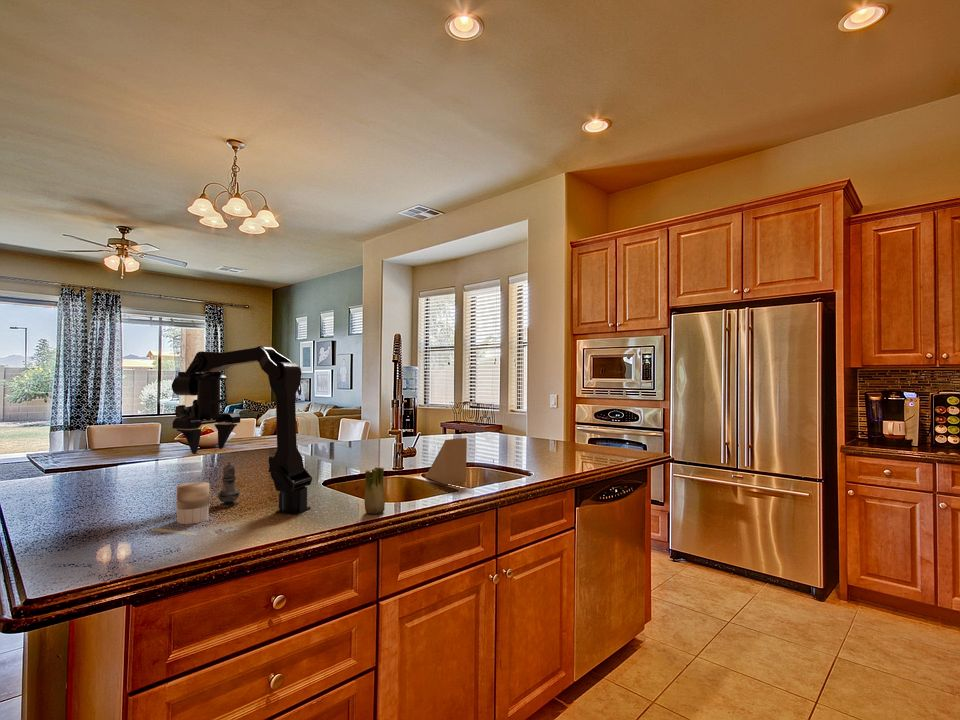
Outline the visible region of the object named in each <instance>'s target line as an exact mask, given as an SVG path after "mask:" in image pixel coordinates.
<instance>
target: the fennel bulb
mask: <svg viewBox="0 0 960 720" xmlns="http://www.w3.org/2000/svg"><path fill="white" fill-rule="evenodd" d="M384 470H385V468H384V467H378V466H377V467H376V466H375V467H374V468H372V469H371V470H365V471H364V472H365V492H364V510H365V513H366V514H368V515H378V514H377V513H380V514H383V512H384V511H385V508H386V507H385V506H386V505H385V504H386V498H385V497H386V496H385V495H386V494H385V488H384Z"/></svg>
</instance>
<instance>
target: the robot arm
mask: <svg viewBox="0 0 960 720" xmlns="http://www.w3.org/2000/svg"><path fill="white" fill-rule="evenodd" d="M192 359H193V360H192V361H191V362H190V364H189V366H188V368H186V371H178V372H177V376H175V378H174V379H173V380H172V383H171V390H172V391H173V393H174V394H175V395H177V396H196V399H193V401H192V405H190V406H186V405H185V404H179V405H177V406H175V410H174V414H175V418H174V419H173V421H172V427H171V428H172V429H176V431H177V432H180V433H181V434H183V435H184V437H185V439H186V442H187V443H188V444H187V445H188V446H189V449H190V452H191V454H193V455H196V454H197V452H198V450H199V445H200V440H201V435H202V430H203V429H202V428H200V427H201V426H202V425H208V424H214V428H216V429H217V447H218V449H219V450H222V449H224V447H225V445H226V442H227V441H228V439H229V437H230V436H231V434H232V433H233V430H234V429H235V428H236V427H237V426H238V424H239V423H241V415H240V414H239V413H238V412H222V413H220V412H221V404H223V403H224V398H221V381H222V380H223V381H226V380H228V378H227V376H226V375H224V374H223V373H222V372H223V371H224V370H227V369H229V368H230V367H233V366H237V365H245V364H252V363H259V367H260V368H261V370H262V372H264V373H265V374H266V375H267V377H268V381H269V383H268V384H269V386H270V388H271V391H272V392H273V393H274V395H275V396H274V397H275V412H276V413H275V414H276V415H275V416H276V417H275V418H276V423H275V425H276V451H275V454H273V455H271V456H269V457H268V464H269V467H268V473H270V478H271V480H273V484H274V487H275V490H276V492H279V493H278V510H276V511H275V514H282V515H283V514H284V515H293V516H295V515H299V514H301V513H304V512H307V511H308V510H311V506H308V486H311V485H312V482H313V481H312V480H313V477H312V475H311V474H310V473H309V472H308V470H307V469H306V468H305V466H304V460H303V456H302V454H301V453H300V451H299V449H298V447H297V445H298V444H297V419H296V418H297V416H296V412H297V409H296V394H297V392H298V390H299V388H300V385H301V380H302V379H301V378H302V369H301V368H302V367H300V366H299V365H298V363H295V362H292V361H291V360H290V359H288V357H286V356H284V355H282V354H281V353H279V352H277V351H276V350H275V349H274V348H273V347H271V346H264V345H263V346H262V345H258V346H255V347H251V348H244V349H238V350H231V351H224V352H220V351H218V352H217V351H203V350H201V351H198V352H196V353H195V356H194V358H192Z"/></svg>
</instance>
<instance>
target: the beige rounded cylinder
mask: <svg viewBox="0 0 960 720" xmlns="http://www.w3.org/2000/svg"><path fill="white" fill-rule="evenodd" d="M207 505H210V482H205V481H196V482H187V483H183V484H179V485H178V486H176V509H177V508H178V509H196V508H202V507H205V506H207Z"/></svg>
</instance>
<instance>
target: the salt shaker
mask: <svg viewBox="0 0 960 720" xmlns="http://www.w3.org/2000/svg"><path fill="white" fill-rule="evenodd" d="M222 470H223V471H222V472H223V473H222V474H223V477H222V478H221V481H222V488H221V491H218V492H217V493H216V495H217V497H218V500H219V501H220V502H221V503H219V505H218V506H219V507H222V508H223V507H226V508H227V507H235V506H238V505H239V504H240V503H239V502H237V499H238V498H239V496H240V493H241V490H240V489H239V490H238V489H236V479H237V477H235V473H236V472H235V471H236V468H235V466H234V465H232V464H231V462H229V461H228V463H227V465H225V466H224V467H223V469H222Z"/></svg>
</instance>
